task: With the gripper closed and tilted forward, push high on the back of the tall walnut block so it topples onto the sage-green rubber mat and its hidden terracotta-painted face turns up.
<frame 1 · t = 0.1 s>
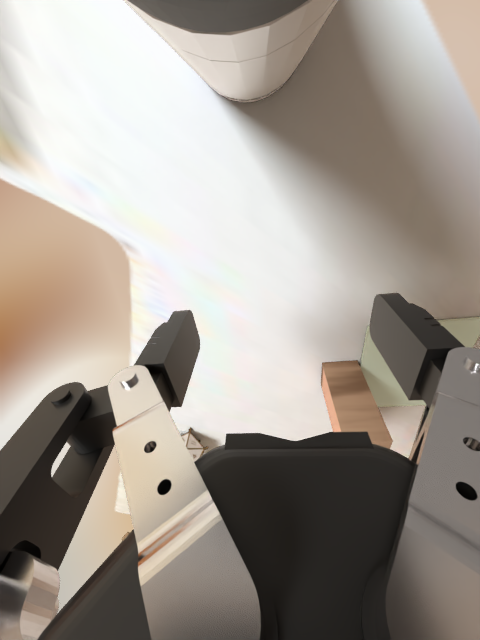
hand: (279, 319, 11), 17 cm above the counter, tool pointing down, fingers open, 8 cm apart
walnut block: (338, 372, 38), on the counter
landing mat: (407, 368, 37), on the counter
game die: (189, 433, 52), on the counter
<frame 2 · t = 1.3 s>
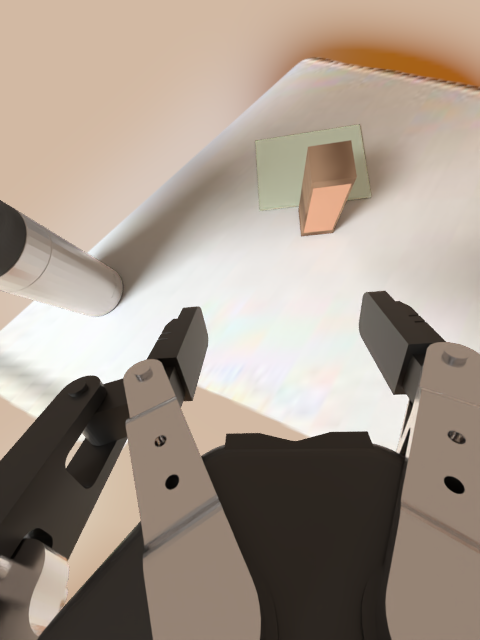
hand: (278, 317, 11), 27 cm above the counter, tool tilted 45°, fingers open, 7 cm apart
walnut block: (315, 220, 41), on the counter
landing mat: (309, 168, 43), on the counter
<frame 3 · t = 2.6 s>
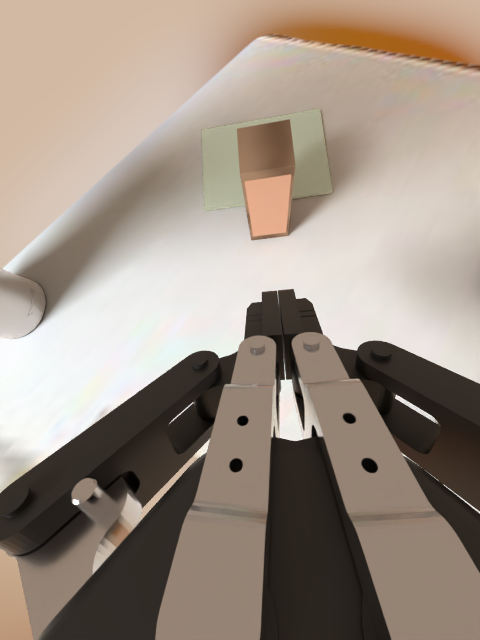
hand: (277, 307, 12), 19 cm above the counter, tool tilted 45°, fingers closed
walnut block: (268, 221, 34), on the counter
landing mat: (262, 160, 36), on the counter
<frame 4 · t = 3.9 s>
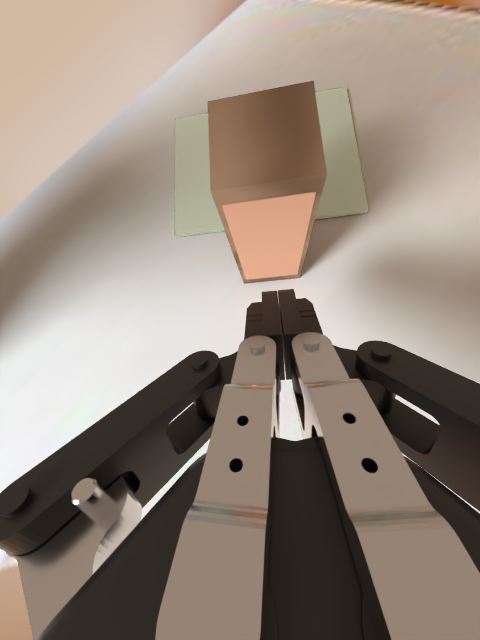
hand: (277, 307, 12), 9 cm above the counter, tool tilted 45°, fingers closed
walnut block: (269, 255, 23), on the counter
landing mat: (261, 163, 25), on the counter
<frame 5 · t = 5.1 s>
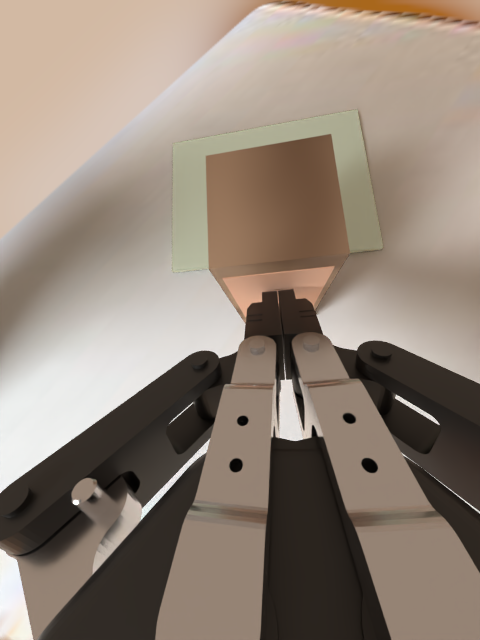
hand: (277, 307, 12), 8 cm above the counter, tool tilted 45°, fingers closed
walnut block: (274, 294, 21), on the counter
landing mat: (265, 192, 23), on the counter
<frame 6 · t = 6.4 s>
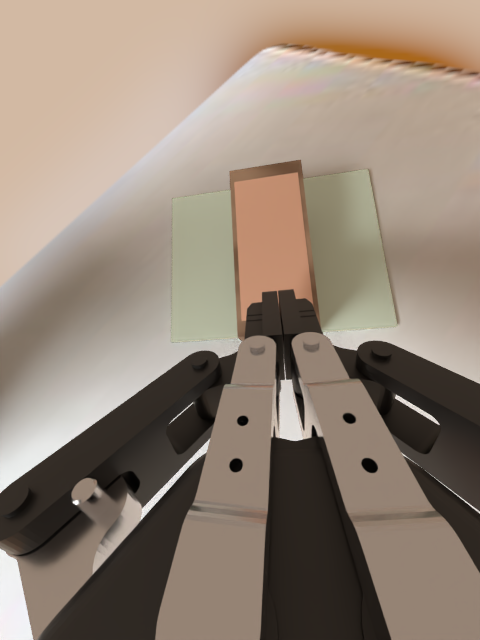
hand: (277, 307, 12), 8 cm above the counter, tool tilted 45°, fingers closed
walnut block: (278, 339, 17), point 3 cm above the counter, tilted 90°, touching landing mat
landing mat: (270, 256, 22), on the counter
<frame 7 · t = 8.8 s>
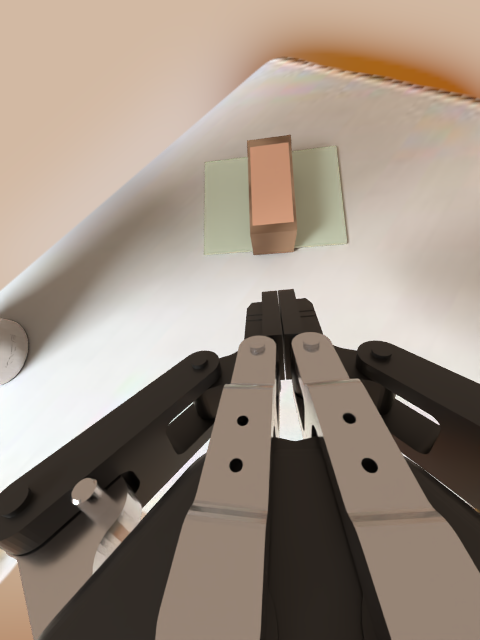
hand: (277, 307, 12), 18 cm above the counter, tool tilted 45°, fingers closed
walnut block: (273, 243, 29), point 3 cm above the counter, tilted 90°, touching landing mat
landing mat: (270, 201, 33), on the counter
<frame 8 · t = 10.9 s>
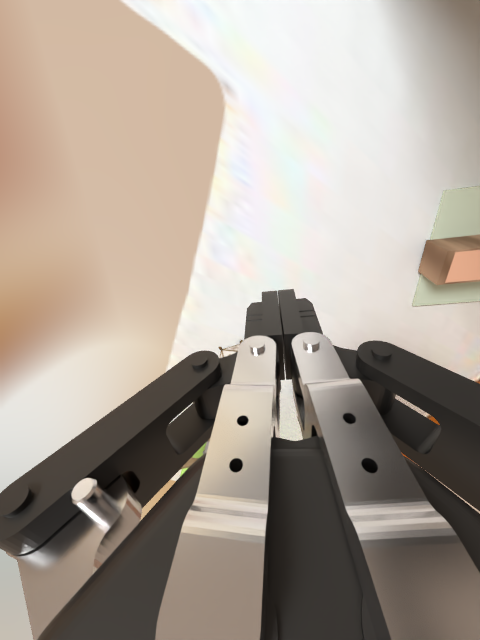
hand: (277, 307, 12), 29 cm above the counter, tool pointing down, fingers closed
walnut block: (431, 262, 36), point 3 cm above the counter, tilted 90°, touching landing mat
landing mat: (475, 250, 37), on the counter
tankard: (219, 413, 64), on the counter
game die: (238, 350, 52), on the counter
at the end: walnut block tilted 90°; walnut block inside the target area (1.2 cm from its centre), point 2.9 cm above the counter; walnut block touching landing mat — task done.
